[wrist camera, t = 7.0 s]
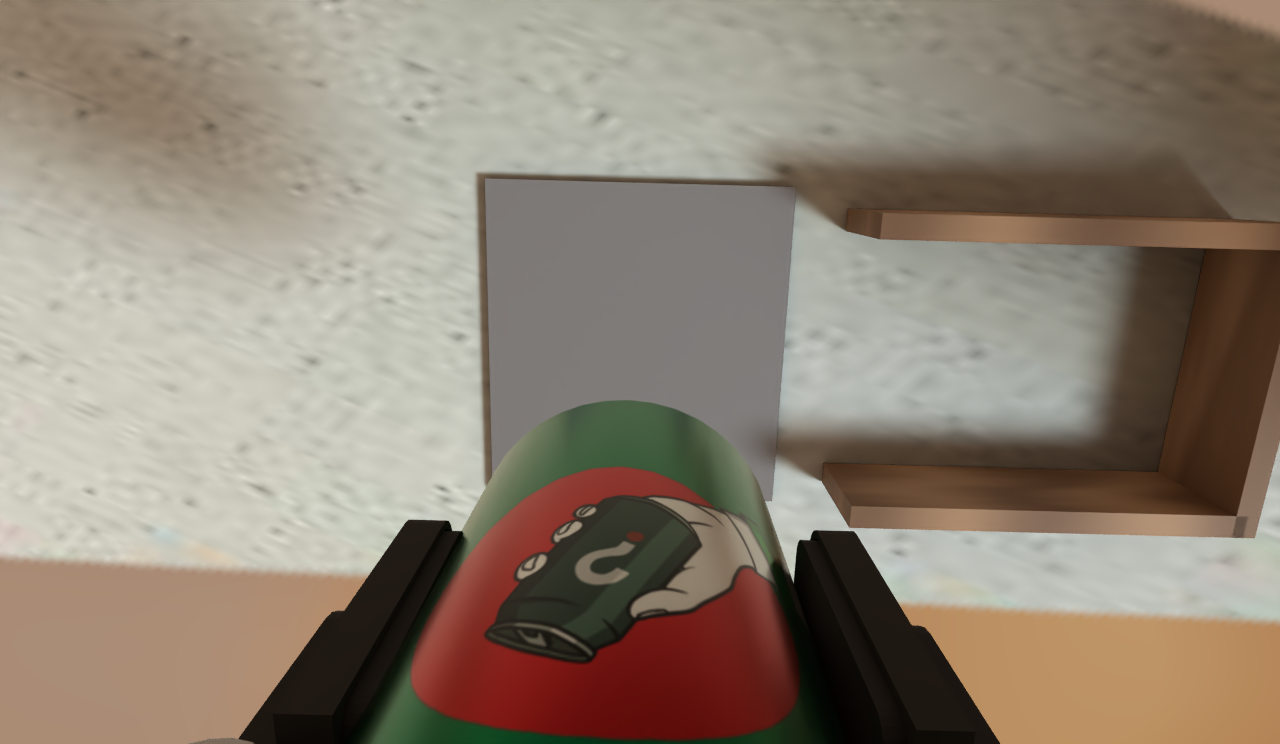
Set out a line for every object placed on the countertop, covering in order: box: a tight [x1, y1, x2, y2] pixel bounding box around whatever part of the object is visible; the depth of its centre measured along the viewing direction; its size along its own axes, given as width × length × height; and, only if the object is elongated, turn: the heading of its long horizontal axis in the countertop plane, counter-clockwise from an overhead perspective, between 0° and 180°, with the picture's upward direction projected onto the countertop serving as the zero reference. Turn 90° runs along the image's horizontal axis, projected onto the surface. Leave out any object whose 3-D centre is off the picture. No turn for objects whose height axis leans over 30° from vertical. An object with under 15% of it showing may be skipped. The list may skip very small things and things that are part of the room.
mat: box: [485, 178, 796, 501], centre depth 28 cm, size 11×12×1 cm
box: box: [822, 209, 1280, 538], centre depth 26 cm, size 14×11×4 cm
